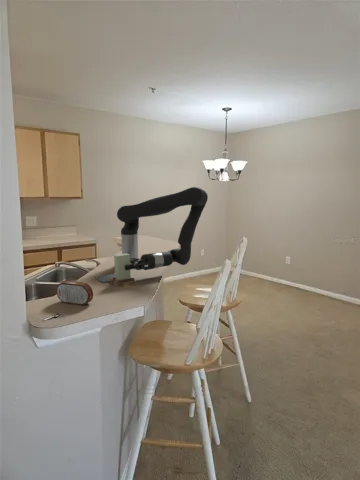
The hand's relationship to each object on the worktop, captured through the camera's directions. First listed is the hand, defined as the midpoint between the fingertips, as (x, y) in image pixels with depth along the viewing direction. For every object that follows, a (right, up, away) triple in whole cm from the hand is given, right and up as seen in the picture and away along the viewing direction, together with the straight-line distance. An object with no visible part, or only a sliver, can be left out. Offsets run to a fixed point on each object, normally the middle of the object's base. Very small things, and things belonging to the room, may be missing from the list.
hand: (121, 266), depth 143 cm
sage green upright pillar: (+1, -8, +2) cm, 8 cm away
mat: (-6, -7, +9) cm, 12 cm away
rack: (+1, -8, +2) cm, 8 cm away
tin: (-13, -12, -24) cm, 30 cm away
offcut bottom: (+4, -9, -3) cm, 10 cm away
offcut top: (+4, -8, -3) cm, 10 cm away
